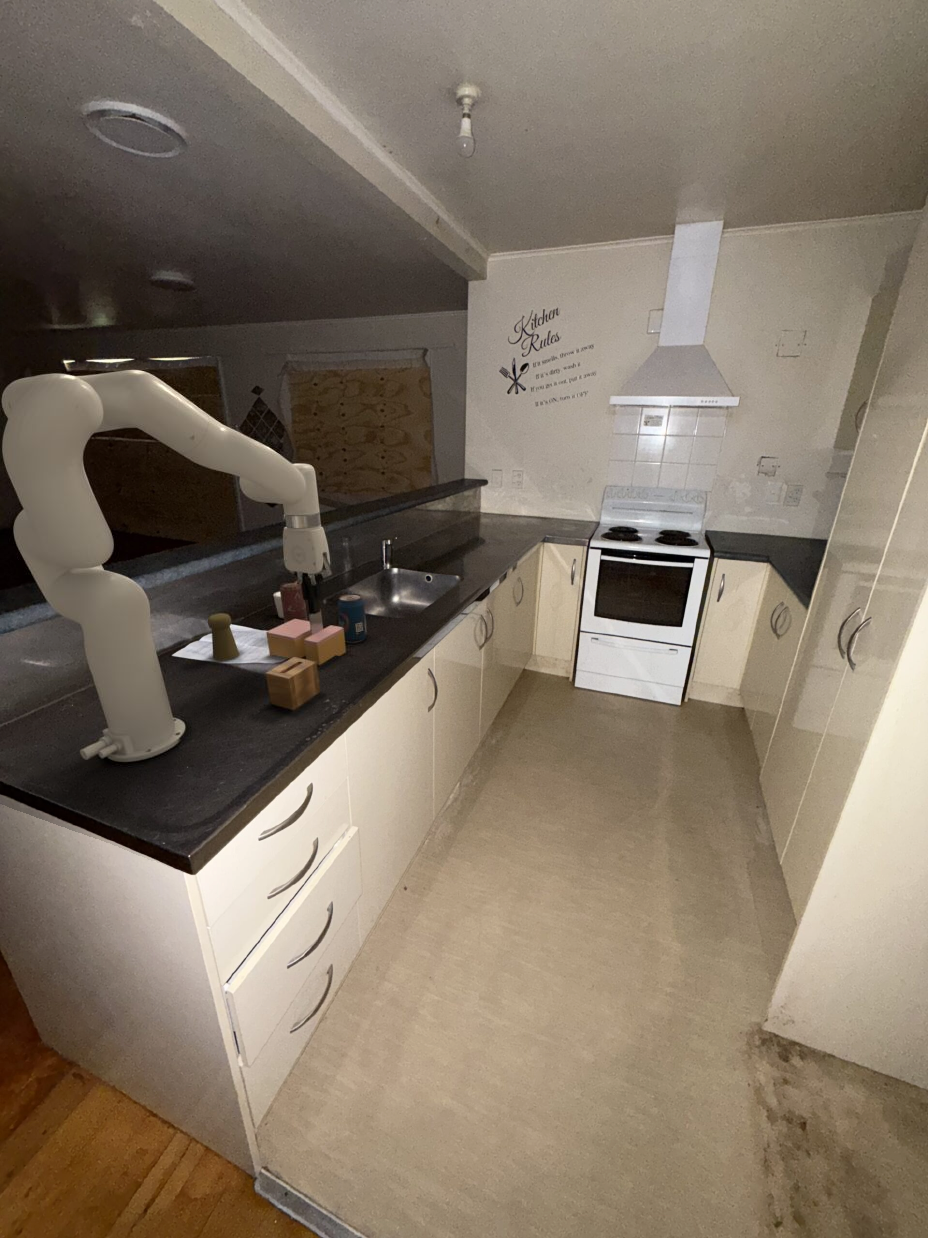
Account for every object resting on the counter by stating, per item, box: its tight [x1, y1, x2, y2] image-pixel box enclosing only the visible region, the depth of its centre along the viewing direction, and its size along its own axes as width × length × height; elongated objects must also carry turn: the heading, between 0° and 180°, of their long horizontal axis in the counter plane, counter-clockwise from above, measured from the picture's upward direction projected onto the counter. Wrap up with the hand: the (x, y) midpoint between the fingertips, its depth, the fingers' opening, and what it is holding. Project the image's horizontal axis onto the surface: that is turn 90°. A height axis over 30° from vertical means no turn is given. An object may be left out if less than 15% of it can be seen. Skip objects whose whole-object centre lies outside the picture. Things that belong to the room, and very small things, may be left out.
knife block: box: [265, 657, 321, 711], centre depth 100 cm, size 8×6×8 cm
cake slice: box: [304, 624, 347, 666], centre depth 119 cm, size 10×4×7 cm, turn 156°
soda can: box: [337, 593, 368, 644], centre depth 129 cm, size 7×7×12 cm
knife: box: [305, 575, 324, 636], centre depth 117 cm, size 4×2×20 cm, turn 155°
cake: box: [265, 619, 311, 659], centre depth 122 cm, size 10×9×7 cm
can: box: [279, 580, 309, 624], centre depth 134 cm, size 6×6×14 cm
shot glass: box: [272, 591, 284, 619], centre depth 148 cm, size 7×7×7 cm
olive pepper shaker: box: [207, 612, 240, 662], centre depth 120 cm, size 6×6×11 cm
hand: (312, 598), depth 115 cm, fingers closed on knife, 1 cm apart
